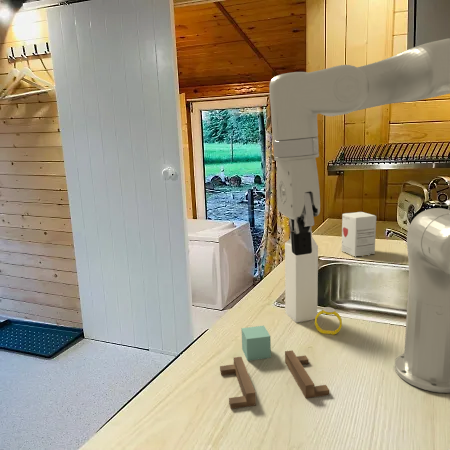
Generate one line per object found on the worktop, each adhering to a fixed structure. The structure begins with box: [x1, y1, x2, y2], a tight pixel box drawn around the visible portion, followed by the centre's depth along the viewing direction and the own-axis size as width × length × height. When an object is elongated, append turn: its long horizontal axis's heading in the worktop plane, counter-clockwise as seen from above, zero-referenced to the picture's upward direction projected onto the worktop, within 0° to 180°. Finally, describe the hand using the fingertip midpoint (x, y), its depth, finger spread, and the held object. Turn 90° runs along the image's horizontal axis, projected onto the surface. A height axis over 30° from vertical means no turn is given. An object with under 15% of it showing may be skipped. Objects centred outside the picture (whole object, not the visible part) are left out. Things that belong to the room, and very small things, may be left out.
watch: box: [314, 306, 343, 336], centre depth 96 cm, size 6×3×6 cm, turn 72°
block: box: [241, 325, 272, 362], centre depth 88 cm, size 5×5×5 cm
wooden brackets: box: [219, 349, 330, 410], centre depth 78 cm, size 18×12×2 cm
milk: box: [284, 230, 319, 323], centre depth 103 cm, size 6×6×22 cm
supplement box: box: [341, 211, 377, 258], centre depth 155 cm, size 9×9×15 cm
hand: (301, 253), depth 74 cm, fingers closed
